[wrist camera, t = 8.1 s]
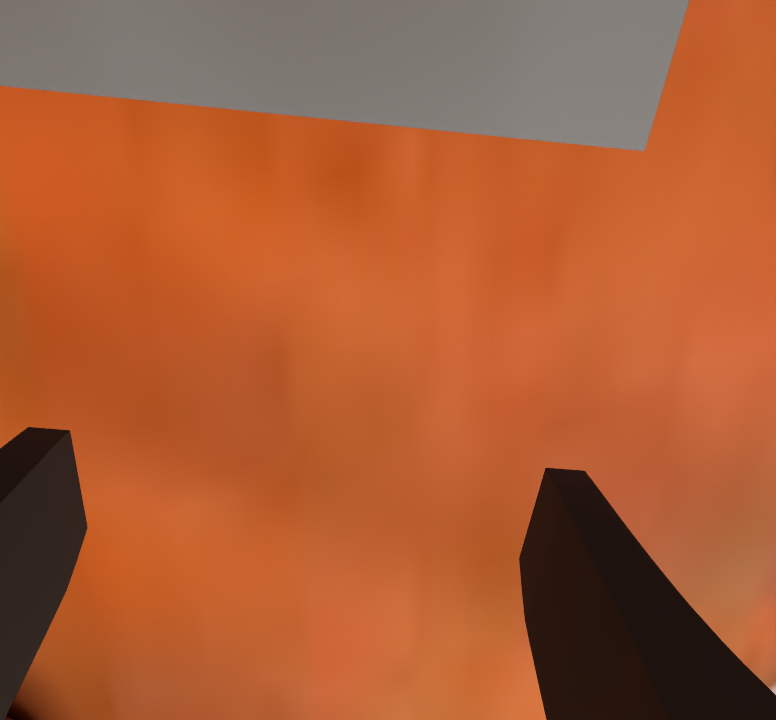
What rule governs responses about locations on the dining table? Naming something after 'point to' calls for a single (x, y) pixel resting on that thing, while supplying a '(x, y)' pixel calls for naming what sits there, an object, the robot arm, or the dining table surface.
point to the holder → (365, 60)
